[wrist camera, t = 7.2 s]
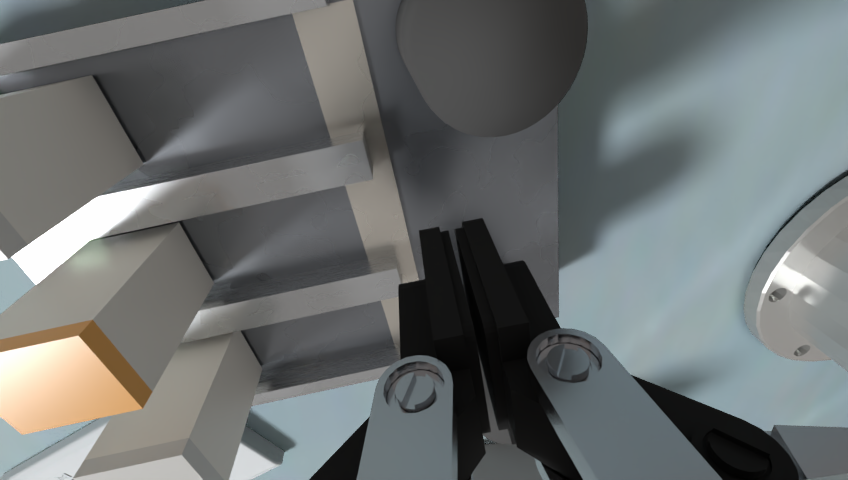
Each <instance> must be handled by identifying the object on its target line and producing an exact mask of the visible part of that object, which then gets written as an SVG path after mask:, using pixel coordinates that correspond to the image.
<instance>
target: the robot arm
mask: <svg viewBox="0 0 848 480" xmlns="http://www.w3.org/2000/svg"><path fill="white" fill-rule="evenodd" d="M455 235H456V241H457V247H458V253H459V259H460V266H461V272H462V278H463V284H464V288H463V284H462V280H461V277H460V273H459V269H458V265H457V261H456V258H455V254H454V250H453V246H452V242H451V239H450V235H449V231H448V230H447V231H442V232H440V228H439V227H434V228H429V229H424V230H419V236H420V244H421V252H422V259H423V267H424V275H425V279H423V280H418V281H413V282H408V283H403V284H399V285H398V297H399V330H400V360H399V361H397V362H395V363H394V364H392V365H391V366H390V367H389V368H387V369H386V370H385V372H384V373H383V374H382V375H381V377H380V378H379V381H378V383H377V386H376V389H375V394H374V398H373V403H372V408H371V413H370V417H369V418H368V419H367V420H366V421H365V422H364V423H363V424H362V425H361V426H360V427H359V428H358V429H357V430H356V431H355V432H354V433H353V435H352V436H351V437H350V438H349V439H348V440H347V441H346V442H345V443H344V444H343V445H342V446H341V447H340V448H339V449H338V450H337V451H336V452H335V453H334V454H333V455H332V456H331V457H330V458H329V460H328V461H327V462H326V463H325V464H324V465H323V466H322V467H321V468H320V469H319V470H318V471H317V472H316V473H315V474H314V475H313V476H312V477H311V478H310V479H309V480H474V477H473V471H474V470H475V468H476V467H477V465H478V464H479V462H480V461H481V460H482V458H483V457H484V455H485V454H486V451H485V445H484V439H483V434H484V433H489V432H491V428H490V422H489V415H488V409H487V403H486V397H485V390H484V384H483V378H482V372H481V365H480V361H481V364H482V368H483V372H484V376H485V380H486V384H487V388H488V392H489V395H490V399H491V403H492V407H493V411H494V415H495V419H496V423H497V426H498V430H499V431H500V430H505V429H508V432H509V436H510V439H511V443H512V445H513V444H516V446H517V448H519V449H520V450H522V451H524V452H525V453H527V454H529V455H530V456H532V457H534V459H535V463H536V466H537V469H538V471H539V473H540V475H541V477H542V479H543V480H848V428H844V427H816V426H788V425H774V427H773V430H772V431H763V430H762V429H760V428H758V427H756V426H754V425H752V424H750V423H748V422H746V421H744V420H742V419H740V418H737V417H735V416H732V415H730V414H727V413H725V412H722V411H720V410H717V409H715V408H712V407H710V406H707V405H705V404H702V403H700V402H697V401H695V400H692V399H690V398H687V397H685V396H682V395H680V394H677V393H675V392H672V391H670V390H667V389H665V388H662V387H660V386H657V385H655V384H652V383H650V382H647V381H645V380H642V379H640V378H637V377H635V376H632V375H630V374H629V372H628V371H627V370H626V369H625V368H624V367H623V366H622V364H621V363H620V362H619V361H618V360H617V359H616V358H615V356H614V355H613V354H612V353H611V352H610V351H609V350H608V348H607V347H606V346H605V345H604V344H603V343H602V342H600V341H599V340H598V339H597V338H596V337H594V336H592V335H590V334H588V333H586V332H583V331H579V330H575V329H566V328H560V326H559V324H558V322H557V321H556V319H555V317H554V315H553V313H552V311H551V309H550V307H549V306H548V304H547V302H546V300H545V298H544V296H543V294H542V292H541V291H540V289H539V287H538V285H537V283H536V281H535V279H534V277H533V276H532V274H531V272H530V270H529V268H528V266H527V264H526V263H525V261H523V260H521V261H516V262H511V263H506V264H503V263H502V260H501V258H500V256H499V254H498V251H497V249H496V247H495V245H494V242H493V240H492V238H491V236H490V233H489V231H488V229H487V227H486V224H485V222H484V220H483V218H479V219H474V220H469V221H464V222H462V228H457V229H455ZM464 290H465V292H464ZM744 315H745V321H746V324H747V326H748V328H749V330H750V332H751V333H752V335H754V336H755V337H756V338H757V339H758V340H759V341H760V342H761V343H762V344H763V345H764V346H766V347H767V348H768V349H769V350H771V351H772V352H774V353H775V354H777V355H779V356H781V357H784V358H787V359H791V360H799V361H823V360H833V361H834V362H836V363H837V364H838V365H840V366H841V367H842V368H843V369H845V370H846V371H847V372H848V176H846V177H844V178H843V179H841V180H840V181H838V182H837V183H835V184H834V185H832V186H831V187H829V188H828V189H826V190H825V191H824V192H822V193H821V194H820V195H819V196H818V197H816V198H815V199H814V200H813V201H811V202H810V203H809V204H808V205H807V206H805V207H804V208H803V209H802V210H801V211H800V212H799V213H798V214H797V215H796V216H795V217H794V218H793V219H792V220H791V221H790V222H789V223H788V224H787V225H786V226H785V227H784V228H783V229H782V230H781V231H780V232H779V233H778V235H777V236H776V237H775V239H774V240H773V241H772V242H771V244H770V245H769V246H768V248H767V249H766V250H765V252H764V253H763V255H762V257H761V258H760V260H759V262H758V264H757V265H756V267H755V269H754V271H753V273H752V275H751V278H750V281H749V284H748V286H747V289H746V294H745V301H744ZM479 357H480V359H479Z"/></svg>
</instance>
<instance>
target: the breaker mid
mask: <svg viewBox="0 0 848 480" xmlns="http://www.w3.org/2000/svg"><path fill="white" fill-rule="evenodd" d="M213 284H214V282H213V280H212V279H211V277H210V275H209V274H208V272H207V270H206V268H205V267H204V265H203V263H202V261H201V260H200V258H199V256H198V254H197V253H196V251H195V249H194V248H193V246H192V244H191V242H190V241H189V239H188V237H187V235H186V234H185V232H184V230H183V229H182V227H181V225H180V223H179V222H178V223H174V224H169V225H164V226H160V227H155V228H150V229H146V230H141V231H136V232H132V233H127V234H122V235H118V236H113V237H108V238H104V239H99V240H94V241H90V242H87V243H86V244H84V245H83V246H82V247H81V248H80V249H78V250H77V251H76V252H75V253H74V254H72V255H71V256H70V257H69V258H68V259H66V260H65V261H64V262H63V263H62V264H60V265H59V266H58V267H57V268H56V269H54V270H53V271H52V272H51V273H50V274H48V275H47V276H46V277H45V278H44V279H42V280H41V281H40V282H39V283H38V284H36V285H35V286H34V287H33V288H32V289H30V290H29V291H28V292H27V293H26V294H24V295H23V296H22V297H21V298H20V299H18V300H17V301H16V302H15V303H14V304H12V305H11V306H10V307H9V308H8V309H6V310H5V311H4V312H3V313H2V314H0V417H1V418H3V419H4V420H5V421H6V422H7V423H9V424H10V425H11V426H12V427H13V428H15V429H16V430H17V431H18V432H19V433H21V434H22V435H23V434H28V433H33V432H37V431H42V430H47V429H51V428H56V427H61V426H65V425H70V424H75V423H79V422H84V421H89V420H93V419H98V418H103V417H107V416H112V415H117V414H121V413H126V412H131V411H135V410H140V409H143V408H144V406H145V404H146V402H147V401H148V399H149V397H150V395H151V394H152V392H153V390H154V388H155V387H156V385H157V383H158V381H159V380H160V378H161V376H162V374H163V372H164V371H165V369H166V367H167V365H168V364H169V362H170V360H171V358H172V357H173V355H174V353H175V351H176V350H177V348H178V346H179V344H180V343H181V341H182V339H183V337H184V336H185V334H186V332H187V330H188V328H189V327H190V325H191V323H192V321H193V320H194V318H195V316H196V314H197V313H198V311H199V309H200V307H201V306H202V304H203V302H204V300H205V299H206V297H207V295H208V293H209V292H210V290H211V288H212V286H213Z"/></svg>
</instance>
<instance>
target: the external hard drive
mask: <svg viewBox="0 0 848 480" xmlns="http://www.w3.org/2000/svg"><path fill="white" fill-rule="evenodd" d="M111 417H112V416H107V417H103V418H99V419H97V420H95V421H94V422H92V423H90V424H89V425H87V426H85V427H83V428H82V429H80V430H78V431H76V432H75V433H73V434H71V435H70V436H68V437H66V438H64V439H63V440H61V441H59V442H57V443H56V444H54V445H52V446H50V447H49V448H47V449H45V450H44V451H42V452H40V453H38V454H37V455H35V456H33V457H31V458H30V459H28V460H26V461H25V462H23V463H21V464H19V465H18V466H16V467H14V468H12V469H11V470H9V471H7V472H5V473H4V475H3V476H2V477H1V479H0V480H74V479H73V477H74V475H75V474H76V472H77V471H78V469H79V468H80V466H81V464H82V463H83V461H84V460H85V458H86V456H87V455H88V453H89V452H90V450H91V449H92V447H93V445H94V444H95V442H96V441H97V439H98V438H99V436H100V434H101V433H102V431H103V430H104V428H105V426H106V425H107V423H108V422H109V420H110V419H111ZM283 456H284V451H283V450H281V449H280V448H278V447H277V446H275V445H274V444H272V443H271V442H269V441H268V440H266V439H265V438H263V437H262V436H260V435H259V434H257V433H256V432H254V431H253V430H251V429H250V428H248V427H247V426H245V428H244V432H243V435H242V438H241V442H240V445H239V448H238V452H237V455H236V458H235V461H234V465H233V468H232V471H231V475H230V478H229V480H251V479H253V478H255V477H257V476H259V475H261V474H263V473H265V472H267V471H269V470H271V469H273V468H276V467H278V466H280V465H281V464H282V461H283Z"/></svg>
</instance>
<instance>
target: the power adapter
mask: <svg viewBox="0 0 848 480" xmlns="http://www.w3.org/2000/svg"><path fill="white" fill-rule="evenodd" d="M484 445H485V451H486V454H485V455H484V457H483V458H482V460H481V461H480V462H479V464H478V465H477V467H476V468H475V470H474V471H473V477H474V480H543V479H542V477H541V475H540V473H539V471H538V469H537V466H536V463H535V459H534V457H532V456H530V455H529V454H527V453H525V452H524V451H522V450H520V449H519V448H517V446H516V445H506V444H500V443H496V444H484Z"/></svg>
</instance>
